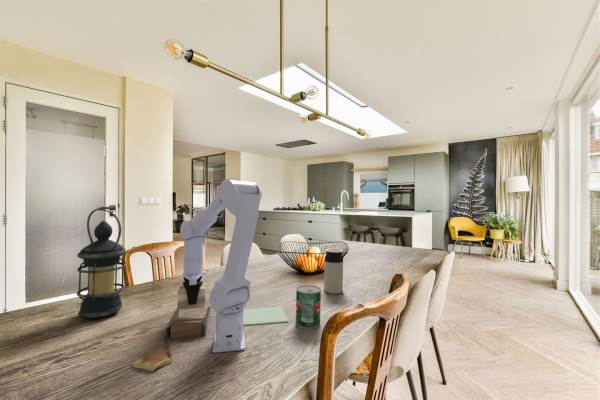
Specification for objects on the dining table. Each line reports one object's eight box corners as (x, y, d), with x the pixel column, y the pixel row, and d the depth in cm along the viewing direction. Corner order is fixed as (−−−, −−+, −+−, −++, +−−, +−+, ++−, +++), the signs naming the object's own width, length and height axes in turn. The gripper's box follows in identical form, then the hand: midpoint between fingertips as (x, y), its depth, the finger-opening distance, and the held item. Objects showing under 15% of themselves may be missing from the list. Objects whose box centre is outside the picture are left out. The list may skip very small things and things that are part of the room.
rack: (205, 335, 78) (205, 325, 78) (165, 339, 76) (165, 328, 76) (210, 315, 92) (210, 306, 92) (176, 317, 89) (176, 308, 89)
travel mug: (345, 293, 118) (346, 251, 118) (329, 295, 115) (330, 252, 115) (336, 287, 125) (337, 248, 125) (321, 289, 122) (321, 248, 122)
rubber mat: (288, 322, 88) (288, 320, 88) (223, 327, 83) (223, 325, 83) (282, 307, 100) (282, 306, 100) (225, 311, 95) (225, 310, 95)
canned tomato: (292, 320, 90) (292, 286, 90) (314, 317, 92) (314, 284, 92) (300, 330, 82) (301, 294, 82) (324, 327, 85) (325, 291, 85)
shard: (165, 345, 73) (165, 338, 73) (190, 350, 71) (190, 343, 71) (130, 368, 63) (130, 360, 63) (158, 375, 61) (158, 366, 61)
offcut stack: (201, 335, 78) (202, 320, 78) (169, 338, 76) (170, 322, 76) (203, 328, 82) (203, 313, 82) (173, 331, 80) (173, 315, 80)
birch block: (204, 307, 86) (205, 288, 86) (177, 309, 84) (177, 289, 84) (206, 302, 90) (206, 284, 90) (179, 304, 88) (180, 285, 88)
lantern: (135, 309, 96) (137, 209, 96) (98, 325, 83) (101, 209, 83) (103, 304, 99) (106, 207, 100) (63, 319, 87) (66, 208, 87)
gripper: (207, 262, 82) (206, 308, 82) (205, 253, 95) (204, 293, 95) (182, 264, 79) (181, 311, 79) (183, 254, 93) (182, 295, 93)
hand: (192, 301), depth 87 cm, fingers closed on birch block, 4 cm apart
